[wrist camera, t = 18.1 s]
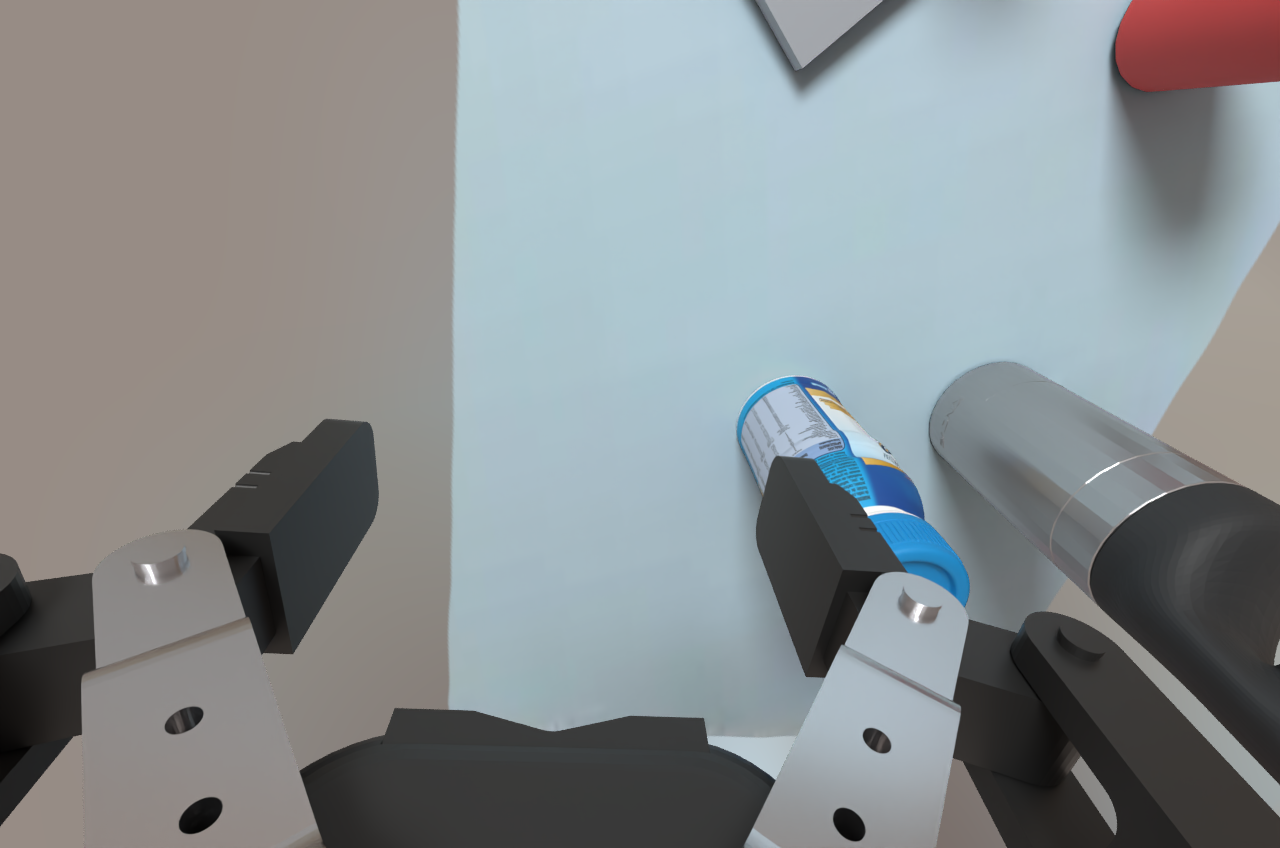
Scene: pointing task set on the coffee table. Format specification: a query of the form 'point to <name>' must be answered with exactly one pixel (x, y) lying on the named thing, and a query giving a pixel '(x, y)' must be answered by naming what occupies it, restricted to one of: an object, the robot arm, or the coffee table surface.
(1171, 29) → the beer can
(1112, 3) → the coffee table surface
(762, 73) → the coffee table surface
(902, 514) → the beverage bottle
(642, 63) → the coffee table surface
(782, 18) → the keyhole plate
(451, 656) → the coffee table surface
